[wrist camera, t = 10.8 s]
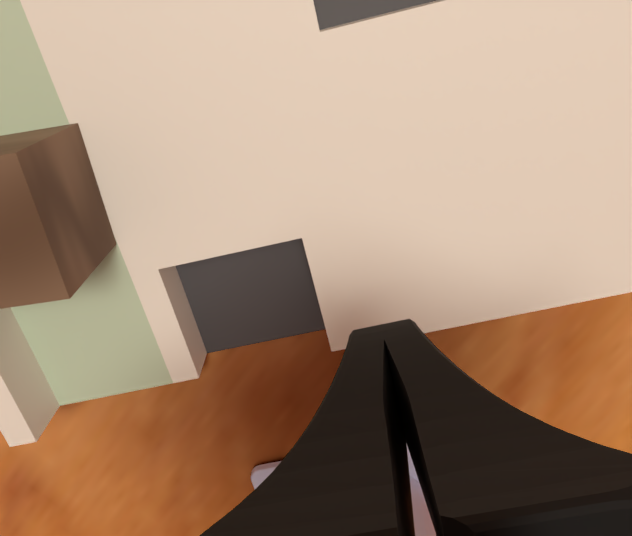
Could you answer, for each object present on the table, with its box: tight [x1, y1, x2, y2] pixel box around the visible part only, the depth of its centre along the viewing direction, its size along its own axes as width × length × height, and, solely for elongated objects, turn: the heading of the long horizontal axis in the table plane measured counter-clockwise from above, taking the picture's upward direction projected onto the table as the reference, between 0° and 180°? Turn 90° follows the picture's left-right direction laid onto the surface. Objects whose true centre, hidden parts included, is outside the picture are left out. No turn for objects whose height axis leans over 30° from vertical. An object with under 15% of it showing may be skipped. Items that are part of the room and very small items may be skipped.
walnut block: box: [0, 123, 117, 309], centre depth 17 cm, size 4×4×4 cm
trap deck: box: [0, 0, 632, 447], centre depth 18 cm, size 15×26×4 cm, turn 103°
